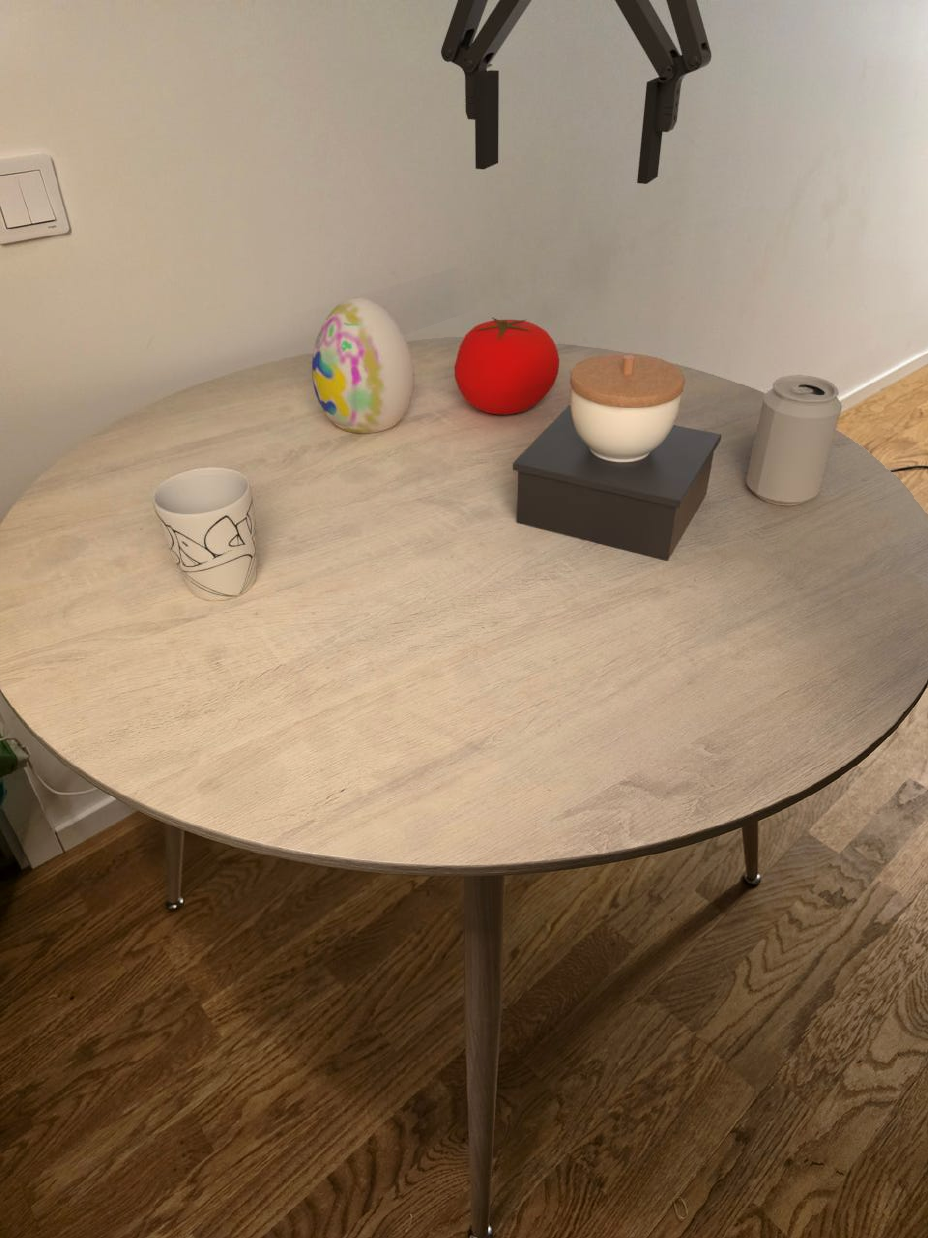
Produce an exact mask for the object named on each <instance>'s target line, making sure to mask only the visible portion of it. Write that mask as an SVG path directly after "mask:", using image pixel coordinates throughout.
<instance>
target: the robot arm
mask: <svg viewBox="0 0 928 1238" xmlns="http://www.w3.org/2000/svg"><path fill="white" fill-rule="evenodd" d="M488 1H489V0H457V2H456V5H455V8H454V12H453V13H452V16H451V20H450V23H449V26H448V28H447V31H446V35H445V37H444V40H443V43H442V46H441V49H440V55H441V58H442V60H443V61H444V62H446V63H453V64H454V65H456V66H458V67H460V68H461V69H462V71H463V74H464V94H465V95H464V96H465V98H464V99H465V101H464V102H465V106H464V107H465V114H466V118H467V120H473V121H474V143H475V144H474V149H475V150H474V152H475V153H474V155H475V158H474V159H475V162H474V163H475V164H474V165H475V170H486V169H488V168H490V167H493V166H495V165H497V164H499V121H500V119H499V116H500V115H499V112H500V111H499V107H500V106H499V105H500V104H499V99H500V98H499V97H500V95H499V93H500V88H499V87H500V83H499V82H500V71H499V70H495V69H490V70H488V69H489V68H491V67H492V66H493V64H492V61H493V60H494V58H495V57H496V55H497V53H498V52H499V50H500V49H501V48H502V46H503V44H504V43H505V41H506V40H507V38H508V37H509V36H510V34H511V32H512V31H513V29H515V26H516V25H517V24H518V22H519V20H520V19H521V17H522V15H523V14H524V13H525V11H526V9H527V8H528V7H529V5H530V4H531V2H532V0H498V1H497V3H496V5H495V6H494V8H493V10H492V11H491V13H490V14H489V16H488V18H487V19H486V21H485V22H484V24H483V26H482V27H481V29H480V30H479V32H478V29H479V26H480V23H481V20H482V18H483V15H484V13H485V9H486V7H487V4H488ZM614 2H615V3H616V5H617V6H618V8H619V10H620V12H621V13H622V15H623V17H624V19H625V20H626V22H627V24H628V26H629V27H630V29H631V31H632V33H633V34H634V36H635V37H636V40H637V41H638V43H639V44H640V46H641V48H642V50H643V52H644V53H645V55H646V56H647V59H648V60H649V62H650V64H651V65H652V67H653V68H654V69H653V70H654V71H655V72H656V74H657V76H658V77H655V78H652V79H651V80H648V81H646V85H645V86H646V87H645V96H644V105H643V107H644V108H643V118H642V128H641V139H640V147H639V148H640V149H639V159H638V167H637V169H638V170H637V179H636V183H637V184H642V185H647V184H649V183H650V182H652V181H653V180H655V179H656V178H658V177H659V167H660V161H661V151H662V150H661V149H662V141H663V133H669V132H670V131H673V130H674V129H675V126H676V124H677V121H678V116H679V115H678V113H679V105H680V98H681V90H682V89H681V88H682V82H683V79H684V78H685V76H687V75H688V74H690V73H693V72H696V71H698V70H701V69H702V68H705V67H707V66H708V65H709V64H710V63H711V61H712V51H711V47H710V44H709V39H708V37H707V33H706V29H705V26H704V23H703V18H702V14H701V12H700V7H699V4H698V1H697V0H666V4H667V7H668V11H669V14H670V18H671V21H672V26H673V27H674V31H675V35H676V38H677V42H678V45H679V48H680V52H681V54H680V52H679V50H678V47H676V45H675V43H674V41H673V39H672V37H671V36H670V34H669V32H668V31H667V28H666V27H665V26H664V24H663V22H662V20H661V19H660V17H659V15H658V14H657V11H656V10H655V8H654V6H653V5H652V3H651V1H650V0H614ZM477 32H478V34H477ZM476 34H477V35H476Z"/></svg>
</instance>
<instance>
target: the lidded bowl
mask: <svg viewBox="0 0 928 1238" xmlns="http://www.w3.org/2000/svg"><path fill="white" fill-rule="evenodd" d="M685 384H686V377H685V375H684V373H683V371H682V369H680V368H679V367H678V366H677V365H675V364H673V363H672V362H670V361H667V360H665V359H663V358H659V357H655V356H651V355H646V354H640V353H630V352H629V353H626V352H623V353H621V352H620V353H619V352H616V353H604V354H599V355H595V356H591V357H588V358H585V359H583V360H581V361H579V362H578V363H576V364H575V365H574V366H573V367H572V369H571V371H570V378H569V385H570V396H569V397H570V399H569V400H570V403H569V405H571V414H572V419H573V423H574V426H575V429H576V431H577V433H578V435H579V436H580V438H581V439H582V441H583V442H584V443H585V444H586V445H587V446H588V447H589V449H590V451H591V452H592V453H593V454H594V455H595V456H597V457H599V458H601V459H604V460H607V461H612V462H633V461H638V460H641V459H643V458H645V457H647V456H648V455H649V453H650V452H651V451H652V450H654V449H655V448H657V447H658V446H659V445H660V444H661V443H662V442H663V441H664V440H665V439H666V438H667V436H668V434H669V433H670V431H671V430H672V428H673V425H675V422H676V420H677V417H678V414H679V410H680V405H681V401H682V393H683V392H684V388H685Z"/></svg>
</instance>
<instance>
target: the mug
mask: <svg viewBox="0 0 928 1238" xmlns="http://www.w3.org/2000/svg"><path fill="white" fill-rule="evenodd" d="M151 497H152V498H151V500H152V505H153V506H152V507H153V509H154V512H155V515H156V518H157V520H158V524H159V526H160V528H161V531H162V534H163V537H164V540H165V543H166V545H167V548H168V550H169V552H170V554H171V556H172V558H173V560H174V562H175V565H176V566H177V568H178V570H179V572H180V574H181V576H182V578H183V580H184V582H185V584H186V586H187V587H188V589H189V590H190V592H191V593H192V594H193V595H194V596H195V597H197V598H198V599H201V600H204V601H210V602H222V601H227V600H232V599H234V598H237V597H239V596H241V595H243V594H245V593H246V592H248V591H249V590H250V589H251V588H252V587H253V585H254V584H255V581H256V578H257V570H258V569H257V565H258V564H257V563H258V561H257V559H258V558H257V557H258V556H257V553H258V551H257V548H258V546H257V545H258V543H257V542H258V539H257V537H258V535H257V524H256V523H257V522H256V515H255V507H254V499H253V497H254V496H253V491H252V485H251V483H250V481H249V478H248V477H247V476H246V475H245V474H243V473H242V472H240V471H238V470H235V469H232V468H229V467H223V466H222V467H221V466H207V467H206V466H205V467H199V468H198V467H197V468H193V469H189V470H185V471H182V472H179V473H176V474H173V475H172V476H170V477H167V478H166V479H164V480H163V481H162V482H161V483H159V484H158V485H157V486H156V488H155V489H154V491H153V493H152V496H151Z"/></svg>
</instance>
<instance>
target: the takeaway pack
mask: <svg viewBox="0 0 928 1238" xmlns="http://www.w3.org/2000/svg"><path fill="white" fill-rule="evenodd" d="M721 440H722V433H718V432H717V433H716V432H711V431H706V430H702V429H695V428H690V427H686V426H682V425H681V426H680V425H676V424H674V425H673V428H672V430H671V431H670V433H669V434H668V436H667V438H666V439H665V440H664V441H663V442H662V443H661V444H660V445H659V446H658V447H657V448H655V449H654V450H652V451H651V452H650V453H649V455H648V456H647V457H645V458H643V459H641V460H638V461H633V462H612V461H607V460H604V459H601V458H599V457H597V456H595V455H594V454H593V453H592V452H591V451H590V449H589V447H588V446H587V445H586V444H585V443H584V442H583V441H582V439H581V438H580V436H579V435H578V433H577V431H576V429H575V426H574V423H573V419H572V414H571V404H568V406H567V407H565V408H564V409H563V411H562V412H561V413H560V414H559V415H558V416H557V417H556V418H554V420H553V421H552V422H551V423H550V424H549V425H548V426H547V427H546V428H545V429H544V430H543V431H542V432H541V433H540V435H539V436H538V437H537V438H535V439H534V441H533V442H532V443H531V444H530V445H528V447H527V448H526V449H525V450H524V451H523V452H522V453H521V454H520V455H519V456H518V457H517V459H515V460H514V462H513V463H512V470H513V471H515V472H517V497H516V499H517V501H516V523H517V524H520V525H526V526H528V527H532V528H536V529H540V530H544V531H549V532H552V533H556V534H559V535H563V536H564V535H565V536H568V537H572V538H576V539H579V540H583V541H587V542H591V543H595V544H600V545H603V546H607V547H612V548H615V549H620V550H623V551H626V552H631V553H635V554H639V555H643V556H647V557H651V558H654V559H658V560H662V561H666V562H668V561H669V559H670V558H671V556H672V555H673V553H674V551H675V550H676V548H677V545H678V544H679V542H680V540H681V539H682V537H683V535H684V533H685V532H686V530H687V528H688V527H689V525H690V523H691V522H692V520H693V518H694V517H695V514H696V512H697V511H698V510H699V508H700V507H701V504H702V502H703V501H704V499H705V497H706V496H707V493H708V487H709V481H710V476H711V470H712V465H713V460H714V454H715V450H716V449H717V448H718V447H719V445H720V443H721Z"/></svg>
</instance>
